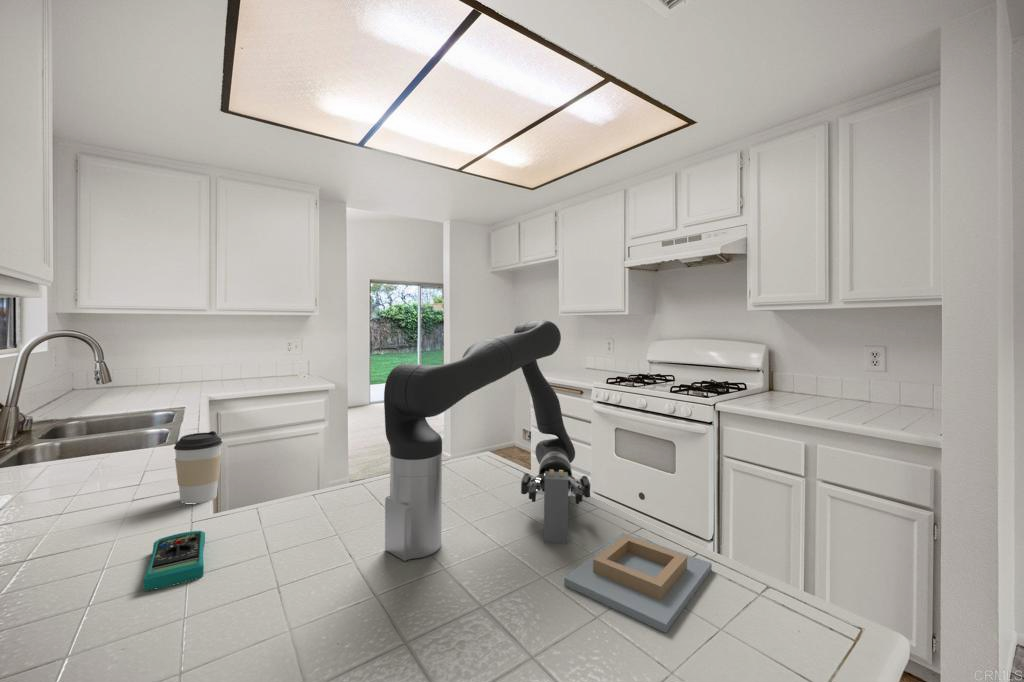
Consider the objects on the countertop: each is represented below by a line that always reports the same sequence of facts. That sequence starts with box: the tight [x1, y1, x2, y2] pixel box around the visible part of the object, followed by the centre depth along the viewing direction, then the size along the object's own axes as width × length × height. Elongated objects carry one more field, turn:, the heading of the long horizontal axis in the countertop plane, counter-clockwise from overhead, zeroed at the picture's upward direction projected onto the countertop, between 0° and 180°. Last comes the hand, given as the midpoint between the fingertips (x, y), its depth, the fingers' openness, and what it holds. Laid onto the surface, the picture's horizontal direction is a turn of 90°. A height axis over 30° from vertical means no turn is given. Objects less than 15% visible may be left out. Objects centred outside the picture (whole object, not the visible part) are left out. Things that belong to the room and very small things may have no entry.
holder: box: [563, 532, 713, 634], centre depth 69 cm, size 20×16×3 cm
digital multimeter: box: [143, 530, 206, 592], centre depth 72 cm, size 7×15×3 cm, turn 35°
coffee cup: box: [173, 430, 223, 504], centre depth 99 cm, size 9×9×15 cm
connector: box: [543, 470, 569, 544], centre depth 82 cm, size 4×4×13 cm
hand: (555, 498), depth 84 cm, fingers open, 8 cm apart
